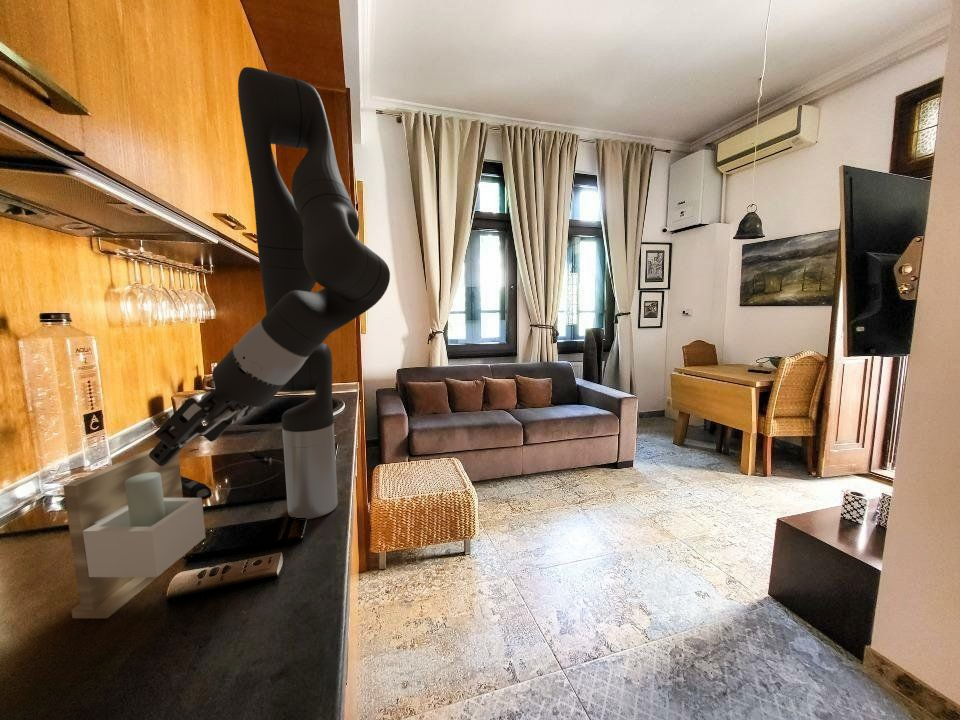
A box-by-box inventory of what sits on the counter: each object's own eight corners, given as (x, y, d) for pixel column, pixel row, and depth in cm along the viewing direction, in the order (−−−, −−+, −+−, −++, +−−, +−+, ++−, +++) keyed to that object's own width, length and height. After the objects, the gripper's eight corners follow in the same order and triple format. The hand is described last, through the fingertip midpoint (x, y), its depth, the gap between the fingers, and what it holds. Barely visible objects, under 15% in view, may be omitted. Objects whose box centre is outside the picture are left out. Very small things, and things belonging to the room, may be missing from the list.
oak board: (171, 543, 65) (160, 441, 63) (198, 543, 65) (187, 441, 63) (72, 618, 50) (53, 485, 47) (107, 618, 50) (89, 485, 47)
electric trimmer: (180, 481, 90) (179, 468, 90) (214, 496, 83) (212, 482, 82) (161, 487, 87) (159, 474, 87) (194, 504, 79) (192, 489, 79)
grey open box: (142, 537, 57) (138, 497, 56) (205, 537, 57) (201, 497, 56) (83, 577, 48) (77, 531, 48) (157, 577, 48) (151, 531, 48)
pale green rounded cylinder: (149, 539, 54) (140, 472, 53) (175, 539, 54) (167, 472, 53) (126, 555, 51) (117, 484, 49) (154, 555, 51) (145, 484, 49)
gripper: (272, 337, 56) (201, 413, 58) (200, 347, 42) (109, 447, 43) (310, 373, 57) (239, 447, 58) (253, 394, 42) (161, 492, 44)
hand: (183, 447), depth 51 cm, fingers open, 8 cm apart
